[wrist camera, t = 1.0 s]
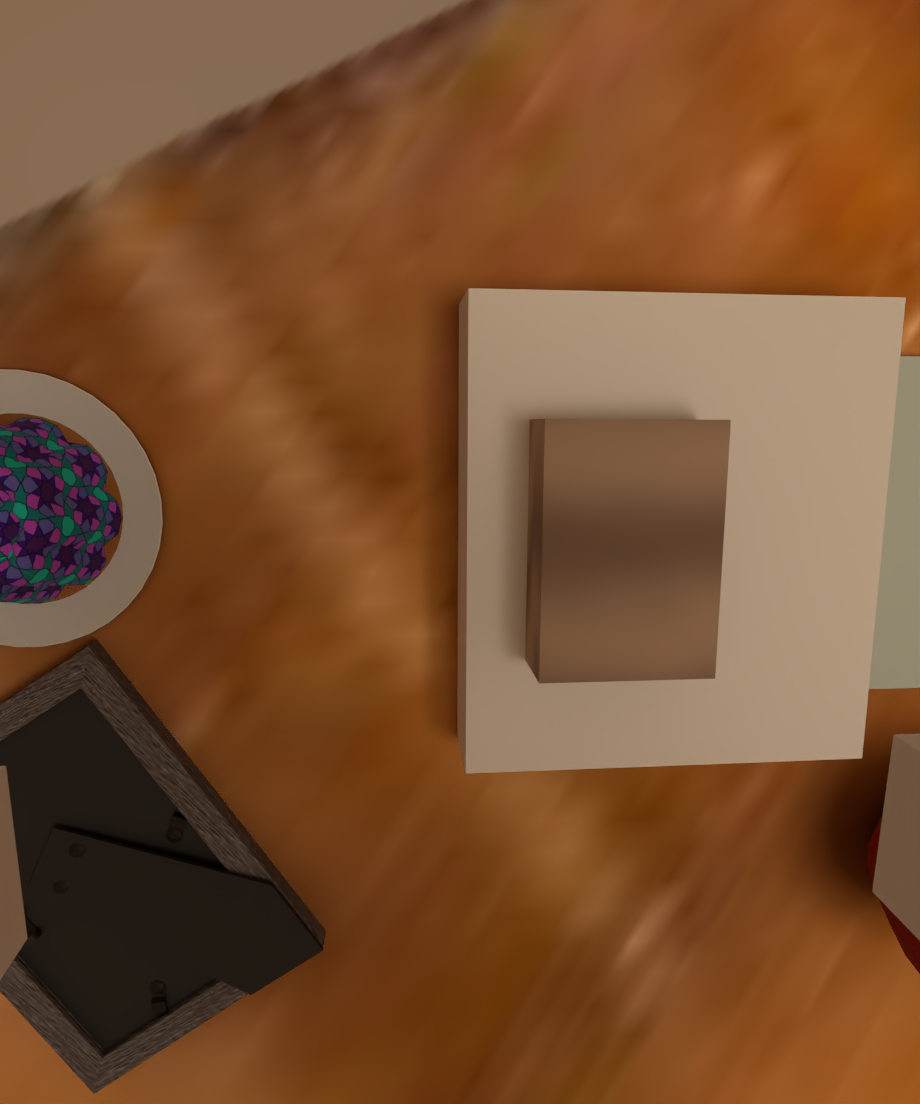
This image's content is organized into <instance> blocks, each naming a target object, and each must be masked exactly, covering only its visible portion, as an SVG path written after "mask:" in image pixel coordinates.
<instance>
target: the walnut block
mask: <svg viewBox="0 0 920 1104" xmlns="http://www.w3.org/2000/svg"><path fill="white" fill-rule="evenodd" d="M730 427H731V420H676V419H531V420H530V434H529V488H528V541H527V594H526V648H525V660H526V662H527V664H528V665H529V667H530V669H531V670H532V672H533V674H534V676H535V677H536V679H537V681H538V682H539V683H574V682H611V681H647V680H683V679H715V674H716V657H717V641H718V624H719V608H720V591H721V575H722V558H723V542H724V525H725V509H726V493H727V476H728V460H729V443H730Z"/></svg>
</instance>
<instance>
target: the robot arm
mask: <svg viewBox="0 0 920 1104" xmlns="http://www.w3.org/2000/svg"><path fill="white" fill-rule="evenodd" d="M872 892H873V893H874V894H875V895H876V896H877V897H878V898H879V899H880V900H881V901H882V902H883V903H884V904H885V905H886V906H887V907H888V908H889V909H890V911H891V912H892V913H893V914H894V915H895V916H896V917H897V918H898V919H899V920H900V921H901V922H902V923H903V924H904V925H905V926H906V927H907V928H908V929H909V930H910V931H911V932H912V933H913V934H914V935H915V936H916V937H917V938H918V939H919V940H920V733H919V734H894V735H893V742H892V749H891V757H890V764H889V771H888V779H887V786H886V794H885V801H884V808H883V816H882V823H881V830H880V838H879V845H878V853H877V860H876V867H875V875H874V882H873V889H872ZM26 940H27V931H26V922H25V914H24V906H23V898H22V890H21V882H20V874H19V866H18V858H17V850H16V842H15V834H14V826H13V818H12V810H11V801H10V793H9V785H8V777H7V769H6V766H0V980H1V978H2V977H3V975H4V974H5V972H6V971H7V969H8V967H9V966H10V964H11V963H12V961H13V960H14V958H15V957H16V955H17V954H18V952H19V951H20V949H21V948H22V946H23V945H24V943H25V942H26Z"/></svg>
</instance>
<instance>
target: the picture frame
mask: <svg viewBox="0 0 920 1104" xmlns="http://www.w3.org/2000/svg"><path fill="white" fill-rule="evenodd" d="M0 766H6V769H7V777H8V785H9V793H10V801H11V810H12V818H13V826H14V834H15V842H16V850H17V858H18V866H19V874H20V882H21V890H22V898H23V906H24V914H25V922H26V931H27V940H26V942H25V943H24V945H23V946H22V948H21V949H20V951H19V952H18V954H17V955H16V957H15V958H14V960H13V961H12V963H11V964H10V966H9V967H8V969H7V971H6V972H5V974H4V975H3V977H2V978H1V980H0V991H1V992H2V994H3V995H4V996H5V997H6V998H7V999H8V1000H9V1001H10V1002H11V1003H12V1004H13V1006H14V1007H15V1008H16V1009H17V1010H18V1011H19V1012H20V1013H21V1014H22V1015H23V1016H24V1018H25V1019H26V1020H27V1021H28V1022H29V1023H30V1024H31V1025H32V1026H33V1027H34V1029H35V1030H36V1031H37V1032H38V1033H39V1034H40V1035H41V1036H42V1037H43V1038H44V1039H45V1041H46V1042H47V1043H48V1044H49V1045H50V1046H51V1047H52V1048H53V1049H54V1050H55V1052H56V1053H57V1054H58V1055H59V1056H60V1057H61V1058H62V1059H63V1060H64V1061H65V1062H66V1064H67V1065H68V1066H69V1067H70V1068H71V1069H72V1070H73V1071H74V1072H75V1073H76V1074H77V1076H78V1077H79V1078H80V1079H81V1080H82V1081H83V1082H84V1083H85V1084H86V1085H87V1087H88V1088H89V1089H90V1090H91V1091H92V1092H93V1093H96V1092H97V1091H99V1090H101V1089H102V1088H104V1087H105V1086H107V1085H108V1084H110V1083H111V1082H113V1081H114V1080H116V1079H117V1078H119V1077H121V1076H122V1075H124V1074H125V1073H127V1072H128V1071H130V1070H131V1069H133V1068H134V1067H136V1066H137V1065H139V1064H141V1063H142V1062H144V1061H145V1060H147V1059H148V1058H150V1057H151V1056H153V1055H154V1054H156V1053H157V1052H159V1051H161V1050H162V1049H164V1048H165V1047H167V1046H168V1045H170V1044H171V1043H173V1042H174V1041H176V1040H177V1039H179V1038H181V1037H182V1036H184V1035H185V1034H187V1033H188V1032H190V1031H191V1030H193V1029H194V1028H196V1027H197V1026H199V1025H201V1024H202V1023H204V1022H205V1021H207V1020H208V1019H210V1018H211V1017H213V1016H214V1015H216V1014H217V1013H219V1012H221V1011H222V1010H224V1009H225V1008H227V1007H228V1006H230V1005H231V1004H233V1003H234V1002H236V1001H237V1000H239V999H241V998H242V997H244V996H245V995H247V994H250V995H251V994H253V993H255V992H256V991H258V990H260V989H261V988H263V987H264V986H266V985H268V984H269V983H271V982H272V981H274V980H276V979H277V978H279V977H281V976H282V975H284V974H285V973H287V972H289V971H290V970H292V969H293V968H295V967H297V966H298V965H300V964H302V963H303V962H305V961H306V960H308V959H310V958H311V957H313V956H315V955H316V954H318V953H319V952H321V951H323V946H322V945H324V939H325V929H324V928H323V927H322V926H321V924H320V923H319V922H318V921H317V919H316V918H315V917H314V915H313V914H312V913H311V912H310V910H309V909H308V908H307V907H306V905H305V904H304V903H303V901H302V900H301V899H300V898H299V896H298V895H297V894H296V893H295V891H294V890H293V889H292V887H291V886H290V885H289V884H288V882H287V881H286V880H285V878H284V877H283V876H282V875H281V873H280V872H279V871H278V870H277V868H276V867H275V866H274V864H273V863H272V862H271V861H270V859H269V858H268V857H267V856H266V854H265V853H264V852H263V850H262V849H261V848H260V847H259V845H258V844H257V843H256V842H255V840H254V839H253V838H252V836H251V835H250V834H249V833H248V831H247V830H246V829H245V828H244V826H243V825H242V824H241V822H240V821H239V820H238V819H237V817H236V816H235V815H234V814H233V812H232V811H231V810H230V808H229V807H228V806H227V805H226V803H225V802H224V801H223V800H222V798H221V797H220V796H219V794H218V793H217V792H216V791H215V789H214V788H213V787H212V786H211V784H210V783H209V782H208V780H207V779H206V778H205V777H204V775H203V774H202V773H201V772H200V770H199V769H198V768H197V766H196V765H195V764H194V763H193V761H192V760H191V759H190V758H189V756H188V755H187V754H186V752H185V751H184V750H183V749H182V747H181V746H180V745H179V744H178V742H177V741H176V740H175V738H174V737H173V736H172V735H171V733H170V732H169V731H168V729H167V728H166V727H165V726H164V724H163V723H162V722H161V721H160V719H159V718H158V717H157V715H156V714H155V713H154V712H153V710H152V709H151V708H150V707H149V705H148V704H147V703H146V701H145V700H144V699H143V698H142V696H141V695H140V694H139V693H138V691H137V690H136V689H135V687H134V686H133V685H132V684H131V682H130V681H129V680H128V679H127V677H126V676H125V675H124V673H123V672H122V671H121V670H120V668H119V667H118V666H117V665H116V663H115V662H114V661H113V659H112V658H111V657H110V656H109V654H108V653H107V652H106V651H105V649H104V648H103V647H102V645H101V644H100V643H99V642H98V640H96V641H95V642H93V643H92V644H90V645H89V646H87V647H85V648H84V649H82V650H81V651H79V652H78V653H76V654H75V655H73V656H72V657H70V658H69V659H67V660H66V661H64V662H63V663H61V664H60V665H58V666H57V667H55V668H54V669H52V670H50V671H49V672H47V673H46V674H44V675H43V676H41V677H40V678H38V679H37V680H35V681H34V682H32V683H31V684H29V685H28V686H26V687H25V688H23V689H22V690H20V691H19V692H17V693H15V694H14V695H12V696H11V697H9V698H8V699H6V700H5V701H3V702H2V703H0Z"/></svg>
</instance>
